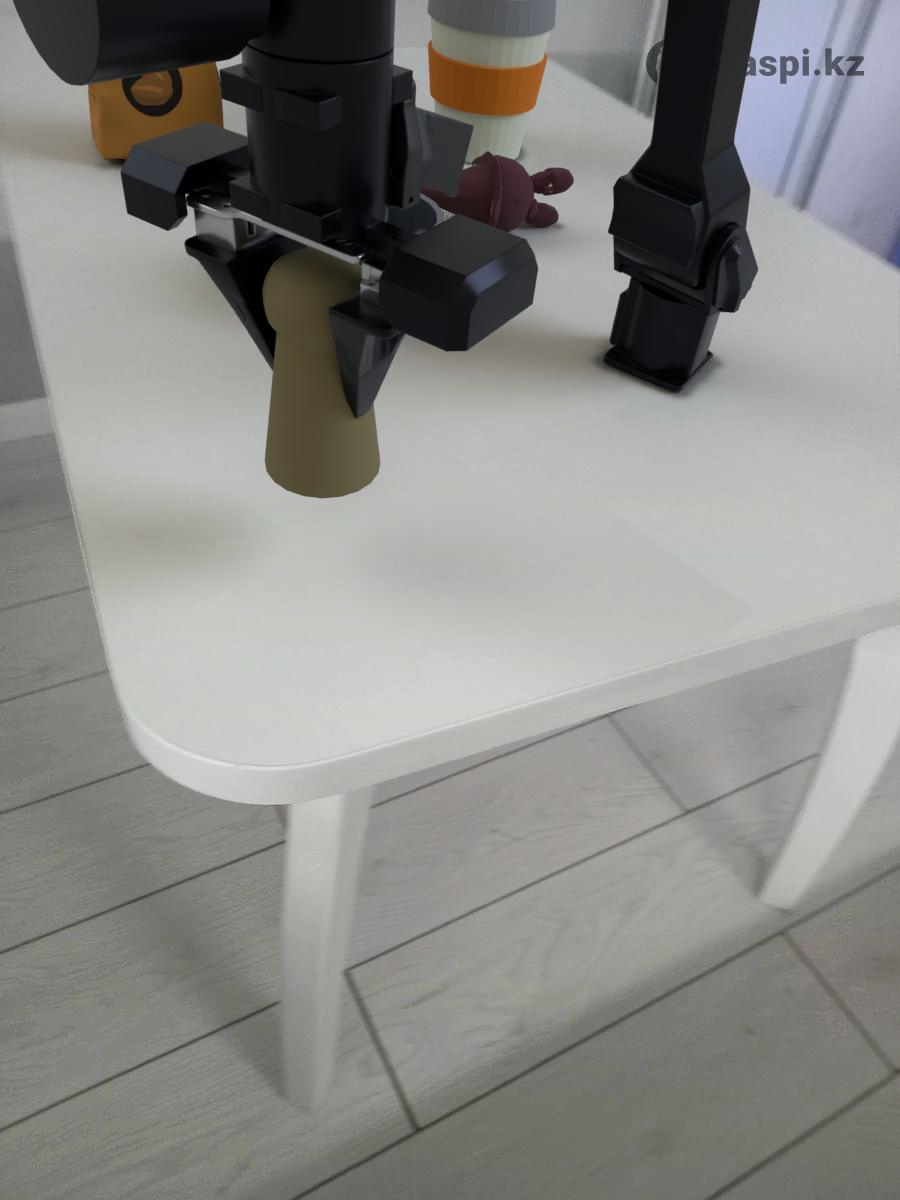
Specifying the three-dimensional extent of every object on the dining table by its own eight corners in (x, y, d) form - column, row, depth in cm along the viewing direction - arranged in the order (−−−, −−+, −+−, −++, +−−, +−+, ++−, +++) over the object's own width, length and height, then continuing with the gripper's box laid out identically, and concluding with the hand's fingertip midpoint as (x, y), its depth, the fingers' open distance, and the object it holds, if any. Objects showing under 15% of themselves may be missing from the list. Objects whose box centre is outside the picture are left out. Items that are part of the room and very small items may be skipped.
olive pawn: (403, 470, 48) (416, 272, 41) (308, 513, 45) (303, 308, 38) (335, 415, 51) (335, 220, 43) (242, 452, 48) (223, 250, 40)
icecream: (426, 181, 74) (591, 192, 79) (407, 125, 78) (566, 139, 83) (409, 252, 80) (564, 258, 85) (392, 197, 84) (542, 206, 88)
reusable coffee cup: (538, 176, 94) (564, 7, 84) (416, 164, 94) (426, -8, 83) (533, 133, 103) (555, -25, 92) (421, 122, 103) (431, -38, 92)
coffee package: (227, 173, 88) (204, -114, 72) (91, 171, 86) (36, -127, 70) (225, 135, 95) (203, -135, 79) (98, 132, 92) (50, -147, 77)
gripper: (634, 59, 36) (566, 398, 47) (275, -40, 43) (289, 279, 54) (481, 127, 29) (443, 505, 40) (81, -2, 36) (143, 354, 47)
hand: (324, 396), depth 46 cm, fingers closed on olive pawn, 4 cm apart
